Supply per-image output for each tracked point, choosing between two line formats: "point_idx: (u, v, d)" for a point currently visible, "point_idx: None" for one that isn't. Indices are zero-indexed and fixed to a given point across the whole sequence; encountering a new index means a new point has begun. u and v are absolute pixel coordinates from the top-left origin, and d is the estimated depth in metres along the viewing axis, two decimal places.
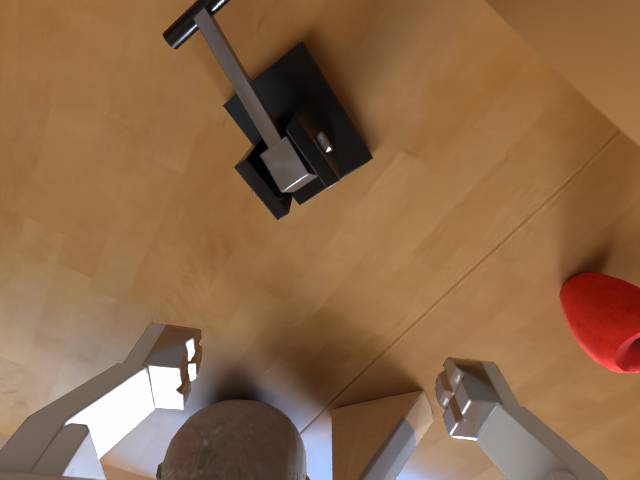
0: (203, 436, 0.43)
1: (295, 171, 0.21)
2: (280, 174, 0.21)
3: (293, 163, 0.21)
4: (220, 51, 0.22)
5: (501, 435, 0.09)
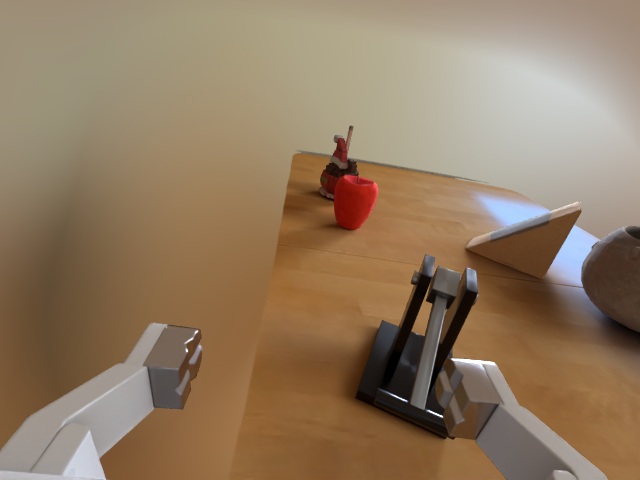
0: None
1: (444, 272, 0.32)
2: (453, 279, 0.31)
3: (441, 276, 0.31)
4: (426, 370, 0.26)
5: (501, 435, 0.09)
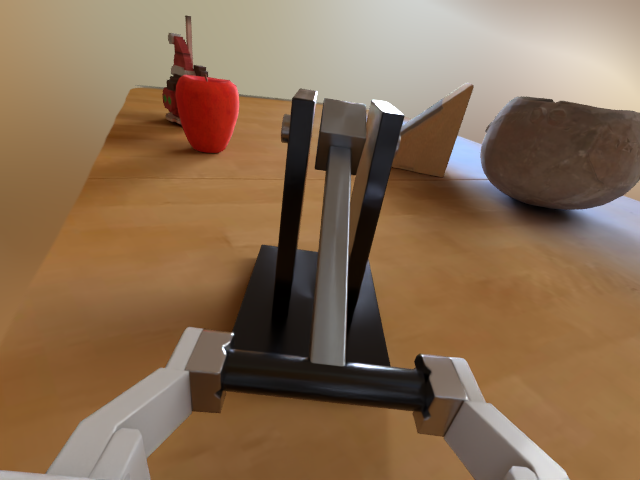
0: (583, 161, 0.41)
1: (336, 106, 0.17)
2: (355, 113, 0.17)
3: (333, 111, 0.16)
4: (334, 279, 0.12)
5: (467, 432, 0.09)
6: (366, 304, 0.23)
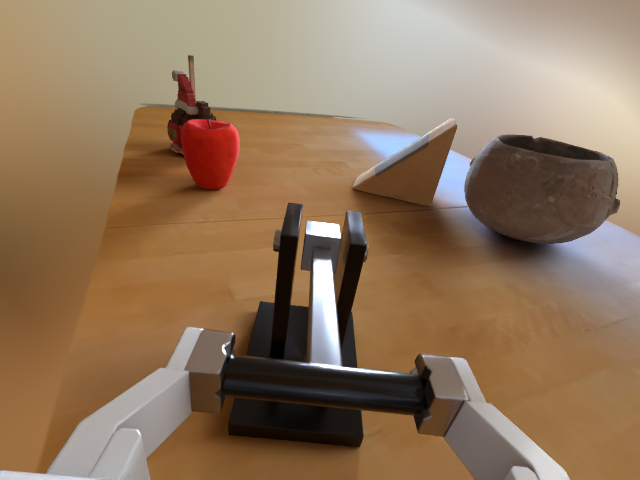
0: (552, 206, 0.45)
1: (316, 224, 0.22)
2: (331, 227, 0.22)
3: (314, 226, 0.21)
4: (325, 313, 0.13)
5: (467, 432, 0.09)
6: (347, 362, 0.27)
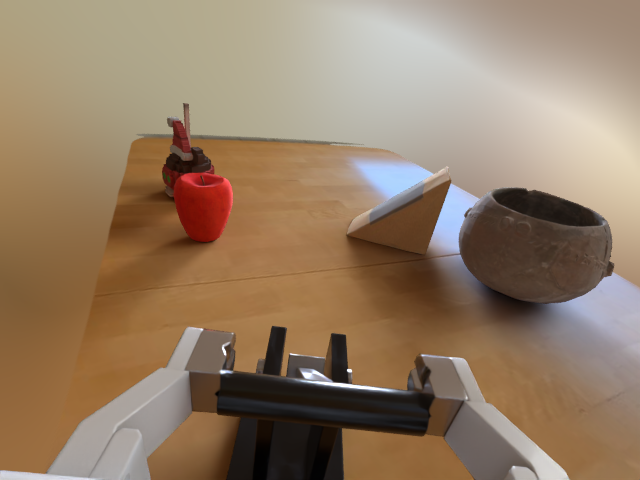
0: (546, 271, 0.44)
1: None
2: None
3: None
4: (317, 377, 0.13)
5: (467, 432, 0.09)
6: (333, 469, 0.27)
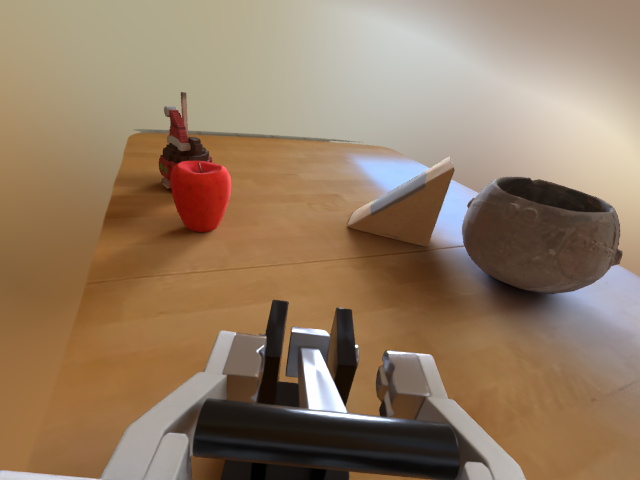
0: (553, 259, 0.43)
1: (302, 328, 0.21)
2: (318, 331, 0.20)
3: (300, 329, 0.20)
4: (320, 381, 0.11)
5: None
6: None
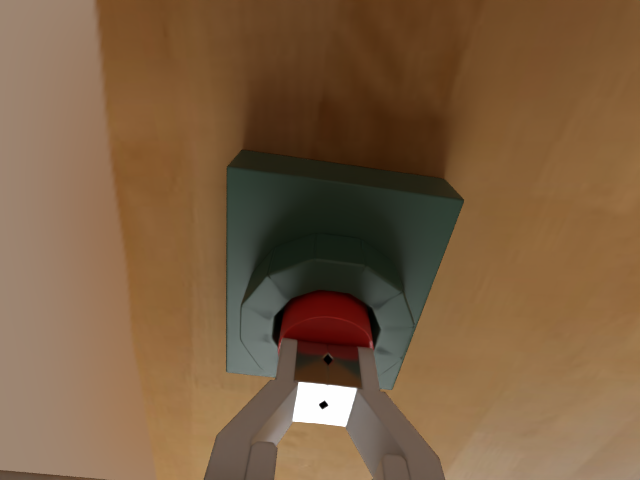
0: None
1: None
2: None
3: None
4: None
5: (361, 421, 0.09)
6: None
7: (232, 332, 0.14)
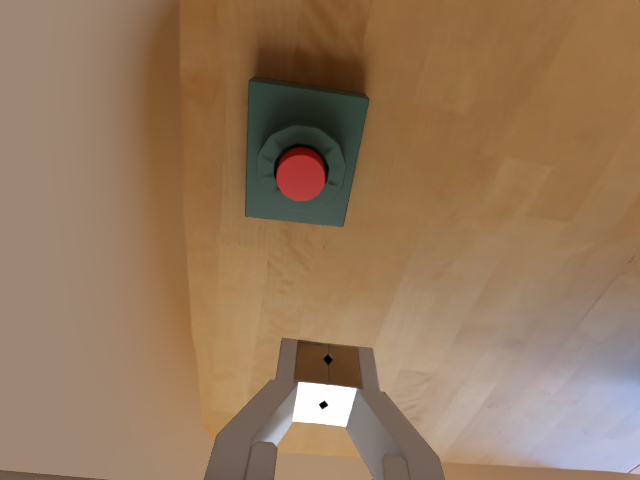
0: None
1: None
2: None
3: None
4: None
5: (360, 421, 0.09)
6: None
7: (249, 186, 0.25)
